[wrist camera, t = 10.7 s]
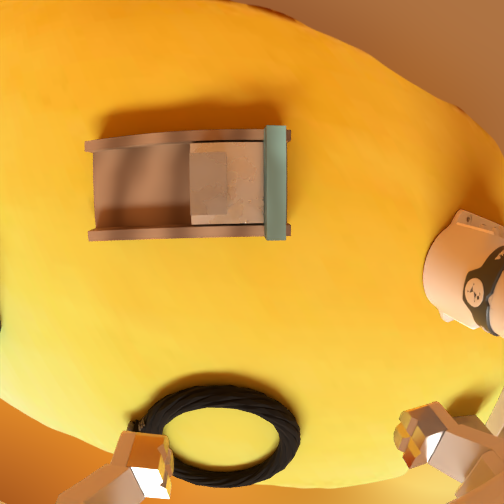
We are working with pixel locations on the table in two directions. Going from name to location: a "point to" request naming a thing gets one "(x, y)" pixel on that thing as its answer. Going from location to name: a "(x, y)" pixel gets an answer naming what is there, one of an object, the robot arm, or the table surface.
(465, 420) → the cassette player
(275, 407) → the cable lock
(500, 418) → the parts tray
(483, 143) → the table surface
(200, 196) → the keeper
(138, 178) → the drawer
